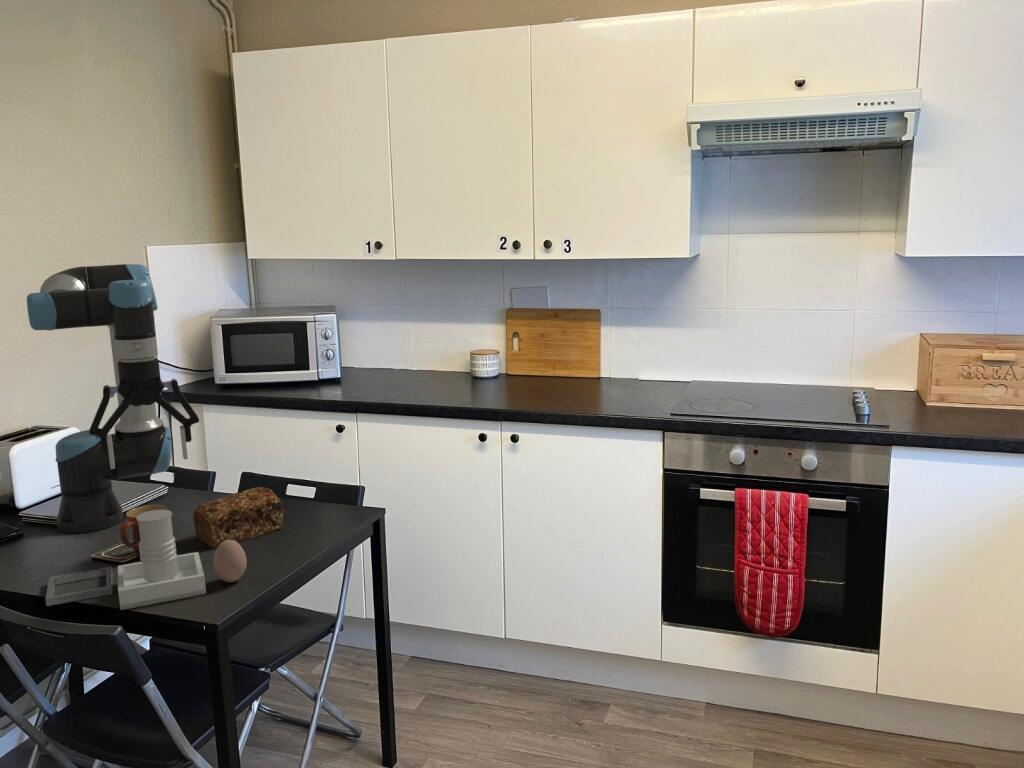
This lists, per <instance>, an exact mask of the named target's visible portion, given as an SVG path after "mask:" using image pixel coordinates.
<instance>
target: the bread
mask: <svg viewBox="0 0 1024 768" xmlns="http://www.w3.org/2000/svg"><path fill="white" fill-rule="evenodd" d="M282 504H283V502H282V501H281V499H280V498H279V497H278V496H277V495H276V493H274V492H273V490H272V489H270V488H268V487H263V486H257V487H253V488H249V489H246V490H243V491H241V492H235V493H233V494H228V495H226V496H223V497H220V498H216V499H214V500H211V501H207V502H204V503H201V504H199V505H198V506H196V507H195V508H194V511H193V516H192V517H193V522H194V524H193V525H194V530H195V533H196V534H195V535H196V537H197V539H198V540H200V541H201V543H203V544H204V543H205V544H207V546H208V547H210V548H211V549H217V548H218V546H219V545H220V544H221V543H222V542H223V541H225V540H233V541H236V542H237V543H240V542H243V541H247V540H251V539H254V538H257V537H259V536H263V535H267V534H271V533H273V532H276V530H281V529H283V524H284V523H283V522H284V520H283V518H284V509H283V505H282Z"/></svg>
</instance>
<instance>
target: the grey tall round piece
mask: <svg viewBox="0 0 1024 768" xmlns="http://www.w3.org/2000/svg"><path fill="white" fill-rule="evenodd" d="M172 516H173V512H172V511H171V510H169V509H167V510H153V511H148V512H144V513H142V514H140V515H138V516H137V517H136V519H137V521H138V524H139V532H140V542H139V551H140V557H139V558H140V562H141V563H142V564H143V578H144V579H145V580H146V581H148V584H150V583H155V582H161V581H166V580H171V579H176V578H175V577H174V576H176V575H177V574H178V567H177V562H176V558H177V555H178V554H177V548H176V547H177V545H176V537H175V536H174V530H173V524H172V523H173V522H172Z"/></svg>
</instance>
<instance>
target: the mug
mask: <svg viewBox="0 0 1024 768" xmlns="http://www.w3.org/2000/svg"><path fill="white" fill-rule="evenodd" d="M153 510H168V507H167V506H166V505H161V504H147V505H142V506H137V507H134V508H132V509H130V510H127V511H126V512H125V517H126V519H127V521H126V522H125V521H124V522H123V524H122V525H121V526H120V529H119V534H120V535H119V536H120V539H121V542H122V543H123V544H124V545H125V546H126V547H128V548H132V550H133V552H134V555H135V557H138V558H140V551H139V542H140V532H139V524H138V521H137V519H136V517H137V516H138V515H140V514H142V513H144V512H148V511H153ZM129 527H130V531H131V532H130V533H131V542H130V540H129V537H128V532H127V530H128V528H129Z"/></svg>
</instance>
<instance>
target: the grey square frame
mask: <svg viewBox="0 0 1024 768" xmlns="http://www.w3.org/2000/svg"><path fill="white" fill-rule="evenodd" d="M101 577H105V579H106V580H105V581H106V582H105V586H101V587H97V588H95V587H94V588H92V589H85V590H81V591H80V590H79V591H74V592H68V593H63V594H56V595H55V591H56V590H55V589H56V585H62V584H68V583H73V582H78V581H84V580H90V579H95V578H101ZM53 595H54V596H53ZM111 595H113V566H107V567H101V568H100V567H99V568H96V569H90V570H89V569H88V570H84V571H79V572H73V573H67V574H62V575H55V576H50V577H49V579H48V583H47V589H46V594H45V605H46V607H51V606H57V605H62V604H68V603H72V602H73V603H74V602H78V601H83V600H89V599H93V598H98V597H103V596H111Z"/></svg>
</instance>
